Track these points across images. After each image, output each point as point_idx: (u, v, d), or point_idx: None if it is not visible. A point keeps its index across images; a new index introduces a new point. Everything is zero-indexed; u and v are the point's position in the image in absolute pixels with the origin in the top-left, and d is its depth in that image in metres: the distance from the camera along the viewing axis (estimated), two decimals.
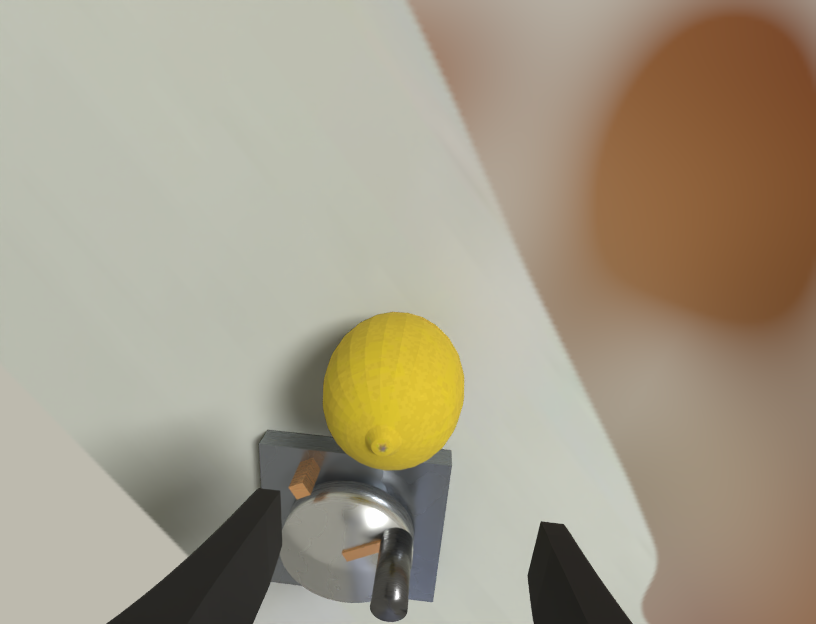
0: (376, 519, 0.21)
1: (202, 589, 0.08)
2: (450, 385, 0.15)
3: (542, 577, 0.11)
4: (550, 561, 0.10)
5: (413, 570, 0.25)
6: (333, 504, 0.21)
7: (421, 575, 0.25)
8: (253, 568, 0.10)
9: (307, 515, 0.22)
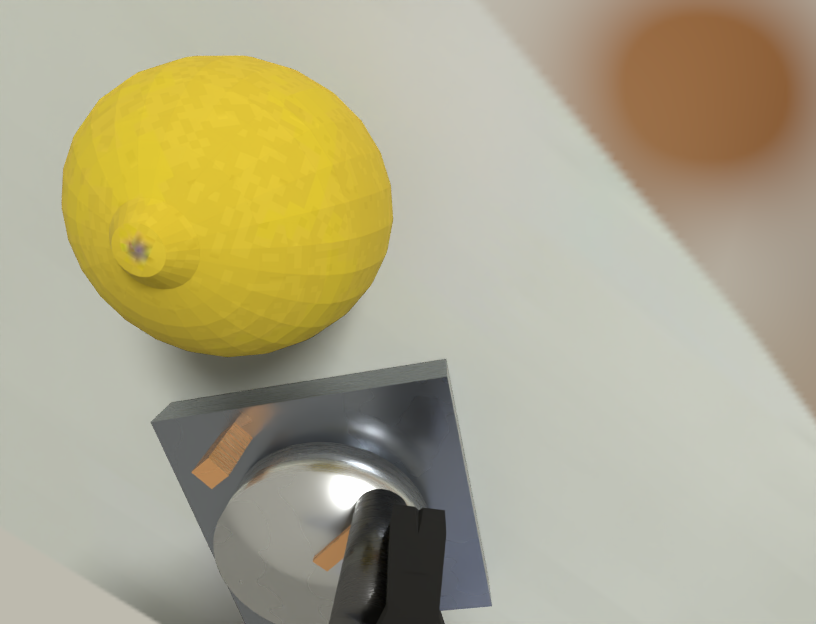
0: (333, 488, 0.13)
1: (431, 619, 0.08)
2: (315, 115, 0.07)
3: None
4: None
5: (447, 563, 0.16)
6: (259, 488, 0.13)
7: (461, 568, 0.16)
8: None
9: (234, 519, 0.13)
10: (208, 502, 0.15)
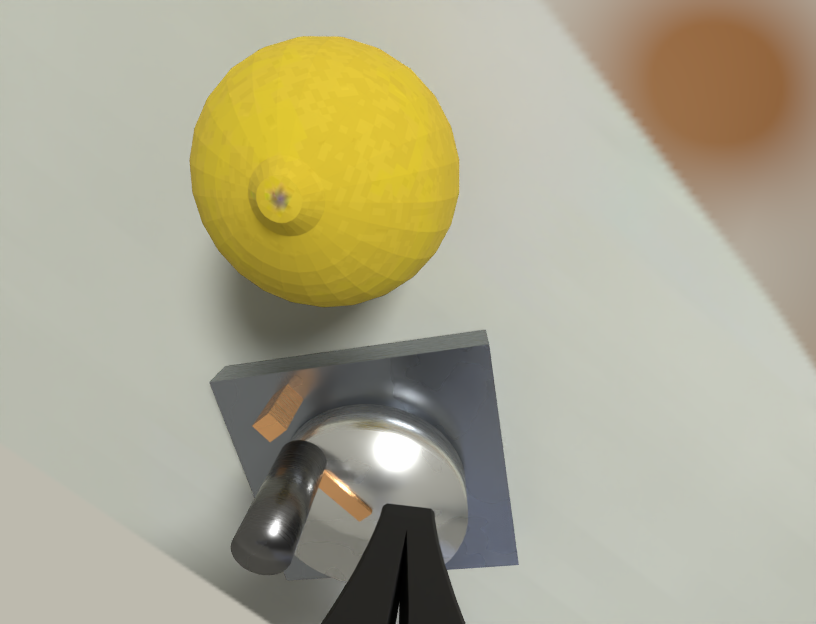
0: None
1: (380, 612, 0.08)
2: (412, 90, 0.08)
3: (403, 560, 0.11)
4: (406, 543, 0.11)
5: (478, 523, 0.17)
6: None
7: (491, 528, 0.17)
8: (398, 586, 0.10)
9: (318, 562, 0.16)
10: (258, 459, 0.17)
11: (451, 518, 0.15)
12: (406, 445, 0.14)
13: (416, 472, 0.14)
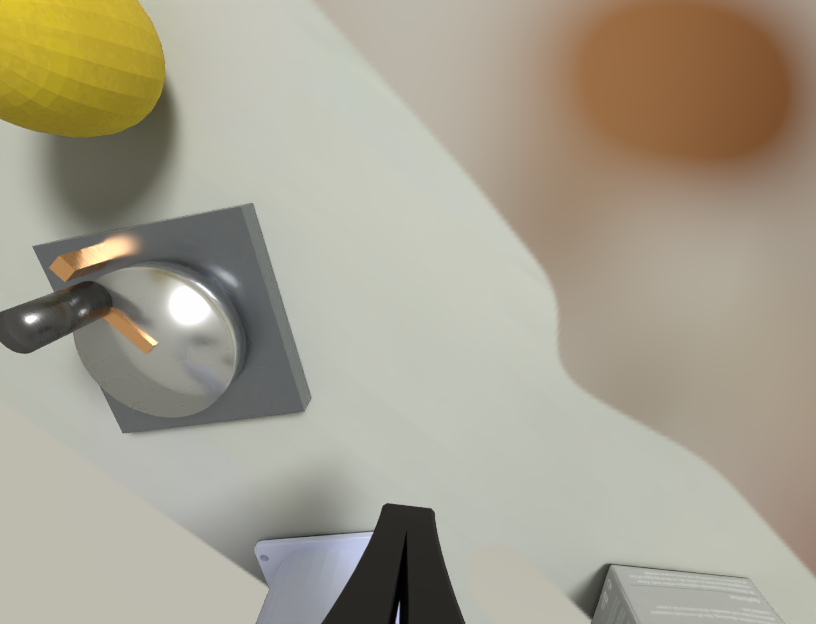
0: (82, 328, 0.18)
1: (380, 612, 0.08)
2: None
3: (403, 560, 0.11)
4: (406, 543, 0.11)
5: (265, 371, 0.21)
6: (94, 374, 0.19)
7: (276, 376, 0.21)
8: (398, 586, 0.10)
9: (124, 396, 0.20)
10: None
11: (217, 349, 0.18)
12: (169, 282, 0.17)
13: (182, 307, 0.18)
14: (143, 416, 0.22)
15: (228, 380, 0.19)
